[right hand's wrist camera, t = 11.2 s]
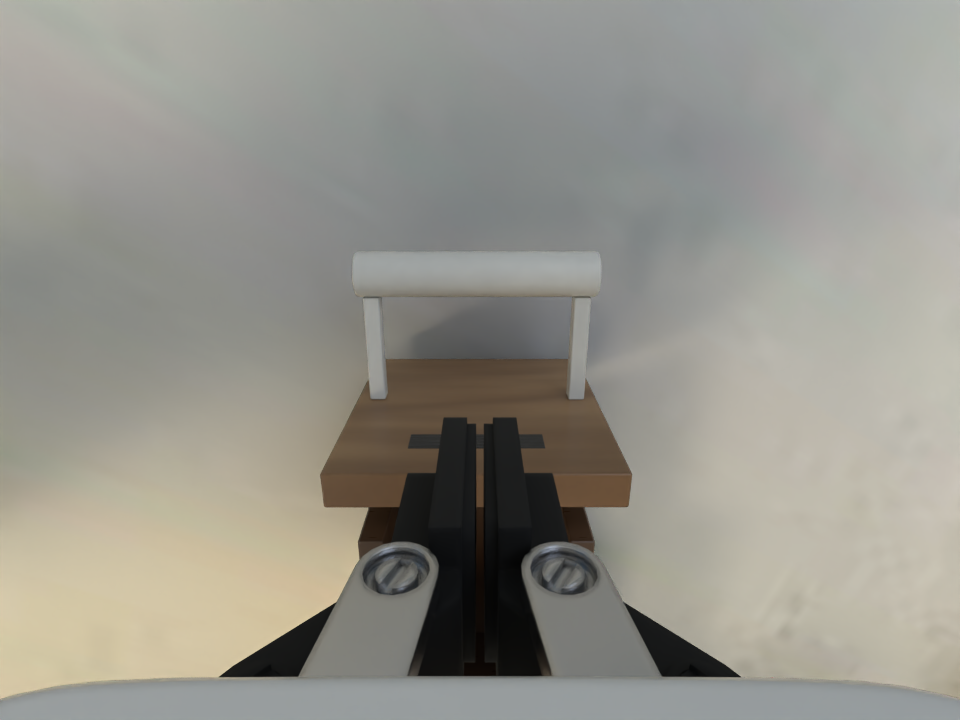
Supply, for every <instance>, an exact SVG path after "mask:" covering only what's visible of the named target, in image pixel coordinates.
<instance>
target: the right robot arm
mask: <svg viewBox="0 0 960 720" xmlns="http://www.w3.org/2000/svg"><path fill="white" fill-rule="evenodd" d="M476 534H477V511H476V424H467V417H444V418H443V425H442V432H441V439H440V446H439V453H438V460H437V467H436V473H408V474H407V477H406V480H405V485H404V489H403V493H402V498H401V502H400V506H399V511H398V515H397V519H396V524H395V528H394V532H393V537H392V541H391V543H388V544H383V545H381V546H378V547H376V548H374V549H372V550H370V551H369V552H368V553H366V554H365V555H364V556H362V558H361V559H360V560H359V562H358V563H357V564H356V566H355V568H354V570H353V572H352V574H351V575H350V577H349V579H348V581H347V583H346V585H345V587H344V589H343V591H342V593H341V595H340V597H339V599H338V601H337V602H336V603H334V604H333V605H331V606H330V607H328V608H326V609H325V610H323V611H321V612H320V613H318V614H317V615H315V616H313V617H312V618H310V619H308V620H307V621H305V622H304V623H302V624H300V625H299V626H297V627H296V628H294V629H292V630H291V631H289V632H287V633H286V634H284V635H283V636H281V637H279V638H278V639H276V640H274V641H273V642H271V643H270V644H268V645H266V646H265V647H263V648H262V649H260V650H258V651H257V652H255V653H253V654H252V655H250V656H249V657H247V658H245V659H244V660H242V661H241V662H239V663H237V664H236V665H234V666H233V667H231V668H230V669H229V670H227V671H226V672H225V673H224V674H222V675H221V676H220V677H201V678H159V679H135V680H111V681H95V682H87V683H78V684H69V685H61V686H55V687H50V688H45V689H40V690H35V691H30V692H26V693H21V694H16V695H12V696H9V697H5V698H2V699H0V720H960V699H958V698H955V697H951V696H948V695H944V694H939V693H934V692H930V691H925V690H920V689H915V688H910V687H905V686H899V685H891V684H882V683H873V682H865V681H848V680H823V679H799V678H745V677H740V676H739V675H738V674H736V673H735V672H734V671H733V670H731V669H730V668H729V667H727V666H726V665H724V664H723V663H721V662H719V661H718V660H716V659H715V658H713V657H711V656H710V655H708V654H707V653H705V652H703V651H702V650H700V649H698V648H697V647H695V646H694V645H692V644H690V643H689V642H687V641H686V640H684V639H682V638H681V637H679V636H677V635H676V634H674V633H673V632H671V631H669V630H668V629H666V628H664V627H663V626H661V625H660V624H658V623H656V622H655V621H653V620H652V619H650V618H648V617H647V616H645V615H643V614H642V613H640V612H639V611H637V610H635V609H634V608H632V607H630V606H629V605H627V604H626V603H624V602H623V601H622V599H621V597H620V595H619V593H618V591H617V589H616V587H615V585H614V583H613V581H612V579H611V577H610V575H609V574H608V572H607V570H606V568H605V566H604V564H603V563H602V562H601V560H600V559H599V558H598V556H596V555H595V554H594V553H592V552H591V551H590V550H588V549H586V548H584V547H582V546H579V545H577V544H572V543H569V541H568V537H567V532H566V528H565V524H564V519H563V515H562V511H561V506H560V502H559V498H558V493H557V489H556V485H555V480H554V477H553V474H552V473H524V467H523V460H522V453H521V446H520V439H519V432H518V425H517V418H516V417H493V424H484V511H483V535H484V643H485V662H496V676H464V662H475V643H476Z"/></svg>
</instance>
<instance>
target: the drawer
mask: <svg viewBox="0 0 960 720" xmlns="http://www.w3.org/2000/svg"><path fill="white" fill-rule="evenodd" d="M601 278H602V264H601V258H600V254H599V253H598V252H597V251H357V252H355V253H354V255H353V259H352V284H353V289H354V292H355V294H356V296H358V297H364V298H363V312H364V324H365V337H366V350H367V362H368V375H369V379H368V381H367V383H366V385H365V387H364V389H363V391H362V393H361V395H360V397H359V399H358V401H357V403H356V405H355V407H354V409H353V411H352V413H351V415H350V417H349V419H348V421H347V423H346V425H345V427H344V429H343V431H342V432H341V434H340V436H339V438H338V440H337V442H336V444H335V446H334V448H333V450H332V452H331V454H330V456H329V458H328V460H327V462H326V464H325V466H324V468H323V470H322V472H321V474H320V477H321V485H322V493H323V502H324V506H325V507H369V509H368V512H367V515H366V518H365V522H364V525H363V528H362V531H361V534H360V537H359V540H358V547H359V558H360V559H361V558H362V556H364V555H365V554H366V553H368V552H369V551H370V550H372V549H374V548H376V547H378V546H381V545H383V544H388V543H391V541H392V537H393V532H394V528H395V524H396V519H397V515H398V511H399V506H400V502H401V498H402V493H403V489H404V485H405V480H406V477H407V474H408V473H436V467H437V460H438V453H439V446H440V439H441V432H442V425H443V418H444V417H467V424H476V511H477V534H476V643H475V662H464V676H496V662H485V643H484V535H483V511H484V424H493V417H516V418H517V425H518V432H519V439H520V446H521V453H522V460H523V467H524V473H552V474H553V477H554V480H555V485H556V489H557V493H558V498H559V502H560V506H561V511H562V515H563V519H564V524H565V528H566V532H567V537H568V541H569V543H572V544H577V545H579V546H582V547H584V548H586V549H588V550H590V551H591V552H592V553H594V546H595V541H594V538H593V534H592V531H591V528H590V524H589V521H588V518H587V514H586V511H585V508H584V507H628V505H629V498H630V489H631V480H632V473H631V471H630V469H629V467H628V465H627V463H626V461H625V458H624V456H623V454H622V452H621V450H620V448H619V446H618V444H617V442H616V440H615V438H614V436H613V434H612V432H611V430H610V427H609V425H608V423H607V421H606V419H605V417H604V415H603V413H602V411H601V409H600V407H599V405H598V403H597V401H596V399H595V396H594V394H593V392H592V390H591V388H590V386H589V384H588V382H587V380H586V378H585V377H586V363H587V350H588V336H589V322H590V309H591V298H590V297H595V296H597V295H598V293H599V290H600V286H601ZM381 297H572V308H571V325H570V341H569V358H568V359H386V358H385V343H384V328H383V313H382V298H381Z"/></svg>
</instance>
